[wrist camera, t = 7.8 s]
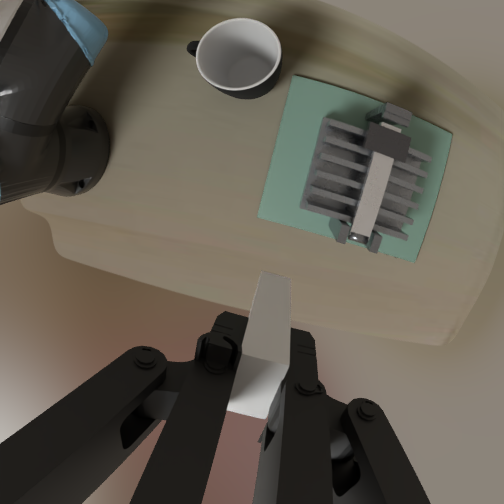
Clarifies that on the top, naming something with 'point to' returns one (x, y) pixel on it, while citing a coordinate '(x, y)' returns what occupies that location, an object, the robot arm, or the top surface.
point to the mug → (239, 57)
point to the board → (301, 151)
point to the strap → (377, 175)
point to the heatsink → (360, 177)
